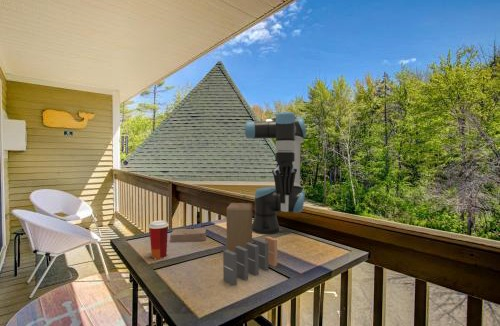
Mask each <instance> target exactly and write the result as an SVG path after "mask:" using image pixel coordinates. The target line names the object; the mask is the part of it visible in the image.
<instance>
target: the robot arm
mask: <svg viewBox="0 0 500 326" xmlns="http://www.w3.org/2000/svg"><path fill="white" fill-rule="evenodd" d="M306 132H307V131H306V123H305V119H304V117H301V116H296V114H295V113H294V112H292V111H281V112H280V111H279V112H277V113H276V114H275V117H273V118H268V119H264V120H263V121H259V120H256V121H253V120H252V121H246V122H245V125H244V135H245V138H246V139H251V140H255V139H258V140H259V139H275V151H276V152H275V157H274V158H275V162H277V163H276V168H275V169H272V171H271V173H272V175H273V178H274V179H273V180H274V186H265V187H260V188H257V189H256V190H255V192H254V217H253V220H252V233H256V234H261V235H271V234H277V233H279V232H280V224H279V223H278V222H279V221H278V218H277V213H278V212H279V213H302V211H303V209H304V205H305V196H306V191H305V190H303V186H302V185H301V182H300V180H301V144H302V143H303V141H304V138H306V136H307V133H306Z"/></svg>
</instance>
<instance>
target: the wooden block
mask: <svg viewBox="0 0 500 326" xmlns="http://www.w3.org/2000/svg"><path fill="white" fill-rule="evenodd" d="M252 224H253V203H249V202H248V203H247V202H246V203H245V202H230V203H229V205H228V206H227V207H226V250H230V251H232V252H234V253H235V247H236V246H240V247H243V248H245V249H246V243H248V242H249V243H252V244H253V231H252Z"/></svg>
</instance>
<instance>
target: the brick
mask: <svg viewBox="0 0 500 326" xmlns="http://www.w3.org/2000/svg"><path fill="white" fill-rule="evenodd" d="M169 237H170V238H169V239H170V240H169V241H170V243H189V242H192V243H193V242H203V241H206V238H207V228H206V227H198V228H197V227H195V228H178V229H173V230H172V231H171V234H170V236H169Z"/></svg>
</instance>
